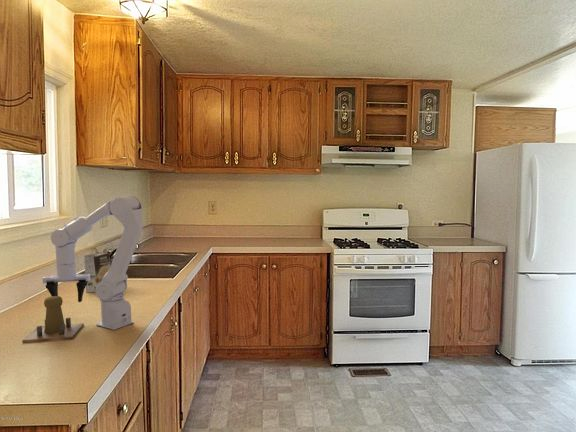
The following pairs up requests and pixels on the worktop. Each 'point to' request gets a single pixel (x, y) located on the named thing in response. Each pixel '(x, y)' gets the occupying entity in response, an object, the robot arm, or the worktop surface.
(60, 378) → the worktop surface
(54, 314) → the cork
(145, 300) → the worktop surface
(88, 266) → the coffee box
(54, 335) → the pin tray
